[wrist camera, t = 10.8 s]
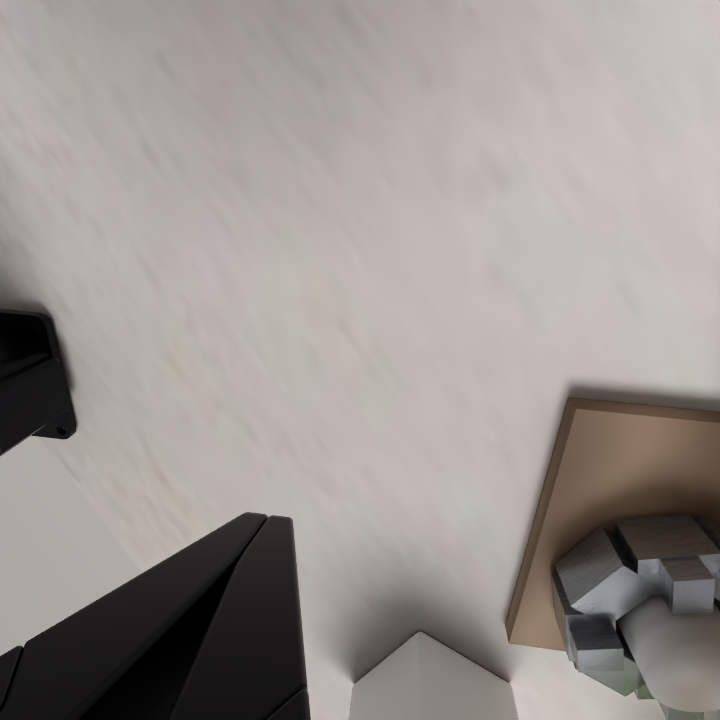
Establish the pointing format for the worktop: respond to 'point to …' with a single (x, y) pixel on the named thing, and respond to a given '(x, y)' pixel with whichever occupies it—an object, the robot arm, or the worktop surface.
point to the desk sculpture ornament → (633, 591)
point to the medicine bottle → (430, 687)
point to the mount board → (601, 508)
